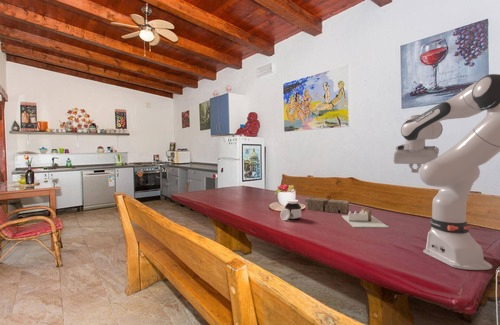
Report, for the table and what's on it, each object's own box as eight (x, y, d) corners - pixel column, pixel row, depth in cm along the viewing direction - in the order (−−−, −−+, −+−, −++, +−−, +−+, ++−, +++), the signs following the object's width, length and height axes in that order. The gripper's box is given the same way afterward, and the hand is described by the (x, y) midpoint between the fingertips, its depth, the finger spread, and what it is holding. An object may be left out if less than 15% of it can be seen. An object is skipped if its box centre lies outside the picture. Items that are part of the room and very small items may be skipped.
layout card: (388, 227, 144) (388, 226, 144) (353, 227, 146) (353, 226, 146) (371, 216, 168) (371, 215, 168) (341, 216, 170) (341, 215, 170)
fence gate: (348, 220, 156) (348, 211, 156) (348, 219, 158) (348, 211, 157) (368, 220, 155) (368, 212, 155) (367, 220, 156) (367, 211, 156)
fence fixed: (371, 222, 155) (371, 210, 155) (368, 222, 155) (369, 210, 155) (363, 216, 168) (363, 206, 167) (361, 216, 168) (361, 206, 168)
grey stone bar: (349, 213, 181) (309, 207, 197) (349, 201, 181) (309, 196, 197) (346, 215, 175) (305, 209, 191) (347, 203, 174) (305, 197, 190)
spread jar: (302, 217, 167) (302, 199, 167) (297, 222, 157) (297, 203, 157) (284, 216, 172) (284, 198, 172) (278, 220, 162) (278, 201, 162)
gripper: (440, 145, 133) (440, 173, 134) (396, 147, 149) (396, 171, 149) (437, 145, 129) (436, 173, 130) (392, 147, 144) (392, 172, 145)
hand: (415, 172), depth 139 cm, fingers closed
